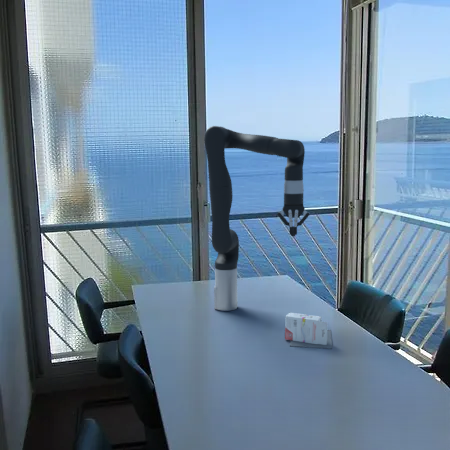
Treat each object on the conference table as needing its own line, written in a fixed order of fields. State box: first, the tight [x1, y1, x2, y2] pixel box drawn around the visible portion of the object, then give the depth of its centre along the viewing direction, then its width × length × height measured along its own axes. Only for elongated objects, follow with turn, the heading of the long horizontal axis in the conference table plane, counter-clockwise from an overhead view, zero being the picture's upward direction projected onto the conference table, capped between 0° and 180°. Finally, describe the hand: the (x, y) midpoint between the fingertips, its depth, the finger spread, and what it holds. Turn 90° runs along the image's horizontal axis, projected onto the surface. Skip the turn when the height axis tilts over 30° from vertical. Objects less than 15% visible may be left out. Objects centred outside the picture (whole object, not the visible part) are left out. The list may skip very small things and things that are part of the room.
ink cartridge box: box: [284, 312, 329, 345], centre depth 172 cm, size 9×5×15 cm
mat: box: [289, 329, 333, 350], centre depth 175 cm, size 14×17×1 cm
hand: (293, 236), depth 196 cm, fingers closed
